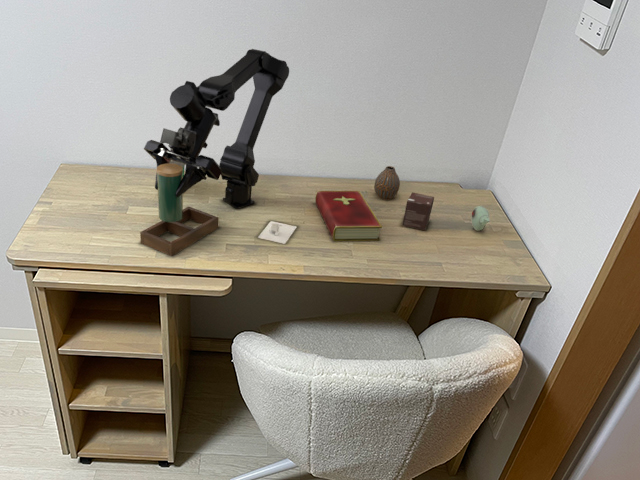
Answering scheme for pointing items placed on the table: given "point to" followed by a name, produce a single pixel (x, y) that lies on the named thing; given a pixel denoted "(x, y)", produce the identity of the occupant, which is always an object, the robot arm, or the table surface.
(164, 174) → the canister
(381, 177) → the vase
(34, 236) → the table surface
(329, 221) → the hardcover book
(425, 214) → the box
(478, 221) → the pale green lumpy piece
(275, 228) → the adhesive hook
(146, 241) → the rack
